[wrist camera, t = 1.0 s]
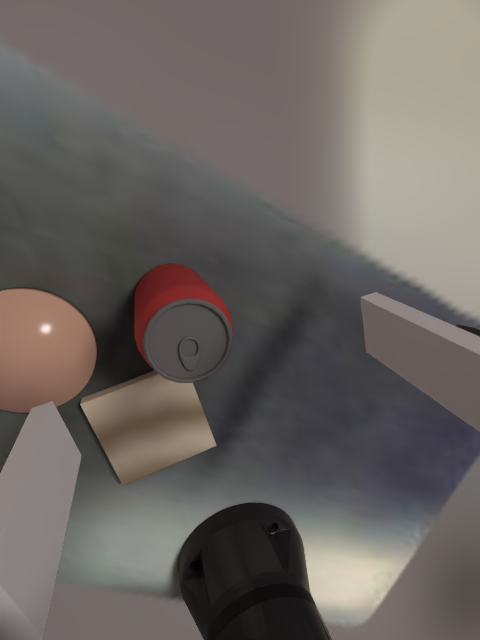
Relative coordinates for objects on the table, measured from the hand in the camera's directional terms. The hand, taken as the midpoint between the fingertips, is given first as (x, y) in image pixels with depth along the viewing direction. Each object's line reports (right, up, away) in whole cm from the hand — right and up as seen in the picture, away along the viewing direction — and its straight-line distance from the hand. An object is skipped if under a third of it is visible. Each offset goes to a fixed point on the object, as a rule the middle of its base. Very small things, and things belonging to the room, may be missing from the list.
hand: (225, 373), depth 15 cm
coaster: (-18, 0, +16) cm, 24 cm away
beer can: (-6, +4, +19) cm, 20 cm away
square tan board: (-8, -8, +21) cm, 24 cm away
